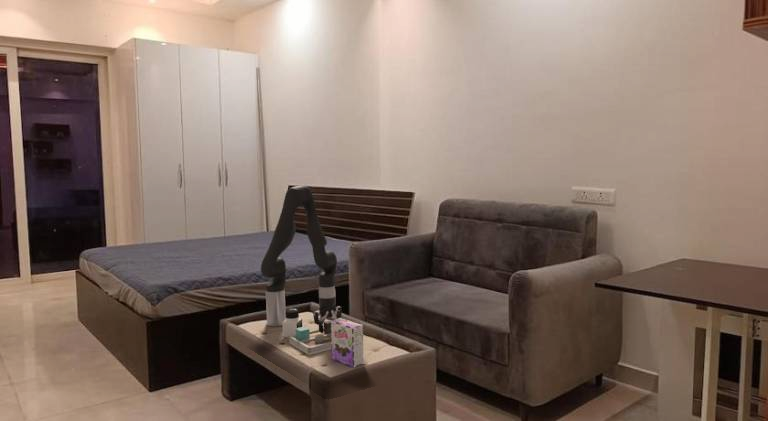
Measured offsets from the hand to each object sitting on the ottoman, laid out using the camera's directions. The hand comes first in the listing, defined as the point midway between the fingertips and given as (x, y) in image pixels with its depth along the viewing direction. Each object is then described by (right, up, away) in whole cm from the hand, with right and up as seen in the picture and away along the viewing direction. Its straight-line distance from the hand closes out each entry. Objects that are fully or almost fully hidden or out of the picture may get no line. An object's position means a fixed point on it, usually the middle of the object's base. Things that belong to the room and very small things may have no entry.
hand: (328, 331), depth 252 cm
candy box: (+11, -6, -29) cm, 31 cm away
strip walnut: (0, -4, -11) cm, 12 cm away
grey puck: (-2, -2, -13) cm, 13 cm away
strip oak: (-6, -3, -4) cm, 8 cm away
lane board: (-3, -4, -8) cm, 9 cm away
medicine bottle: (-17, -3, +4) cm, 18 cm away
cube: (-11, -2, -7) cm, 13 cm away
